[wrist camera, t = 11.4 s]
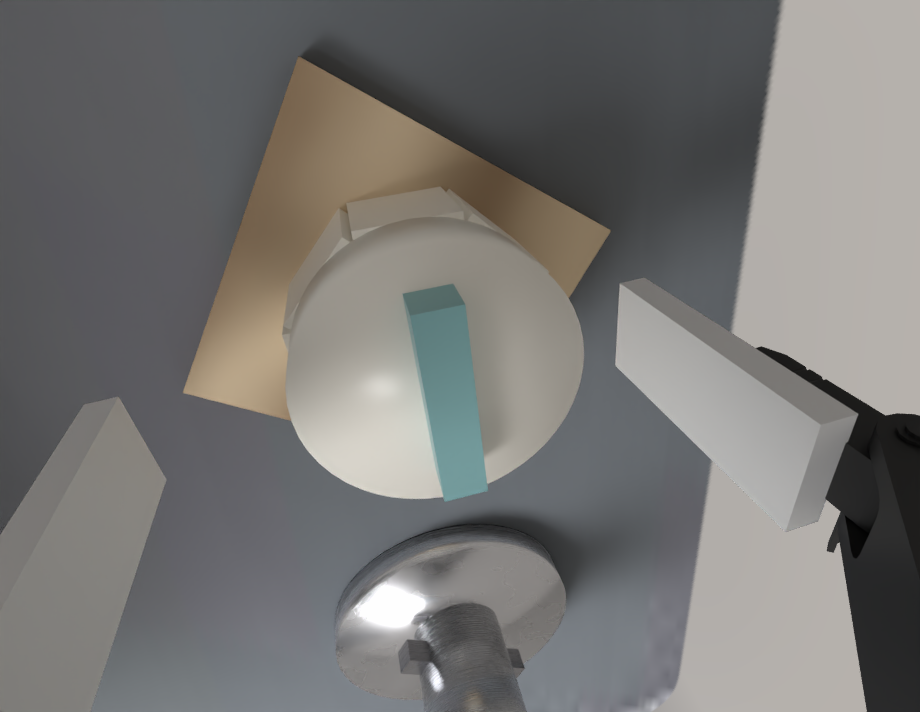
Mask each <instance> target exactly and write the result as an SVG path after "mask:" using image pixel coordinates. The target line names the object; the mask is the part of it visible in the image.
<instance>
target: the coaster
mask: <svg viewBox="0 0 920 712" xmlns="http://www.w3.org/2000/svg"><path fill="white" fill-rule="evenodd" d="M435 187H441V188H442V189H443V190H444V191H445V192H447V190H448V189H450V190H451V191H453V192H454V193H455V194H456V195H458V196H459V197H460V198H462V199H463V200H464V201H466V202H467V203H468V204H469V205H471V206H472V207H473V208H475V209H476V210H477V211H478V212H480V213H481V214H482V215H484V216H485V217H486V218H488V219H489V220H490V221H491V222H493V223H494V224H495V225H497V226H498V227H499V228H500V229H502V230H503V231H504V232H506V233H507V234H508V235H510V236H511V237H512V238H513V239H515V240H516V241H517V242H518V243H519V244H520V245H521V246H522V247H524V248H525V249H526V250H527V251H528V252H529V253H530V254H531V255H532V256H533V257H534V258H535V259H536V260H537V261H539V262H540V263H541V264H542V265H543V266H544V267H545V268H546V269H547V270H548V271H549V273H548V274H549V275H550V276H551V277H552V278H553V279H554V280H555V281H556V282H557V283H558V285H559V286H560V287H561V288H562V290H563V291H564V292H565V293H566V295H567V297H568V298H569V297H570V296H571V294H572V292H573V291H574V289H575V288H576V286H577V284H578V283H579V281H580V280H581V278H582V276H583V275H584V273H585V272H586V270H587V268H588V267H589V265H590V264H591V262H592V260H593V259H594V257H595V256H596V254H597V253H598V251H599V249H600V248H601V246H602V245H603V243H604V241H605V240H606V238H607V237H608V235H609V233H610V232H611V230H609V229H607V228H606V227H604V226H602V225H601V224H599V223H597V222H595V221H594V220H592V219H590V218H588V217H586V216H585V215H583V214H581V213H579V212H577V211H576V210H574V209H572V208H570V207H568V206H567V205H565V204H563V203H561V202H559V201H558V200H556V199H554V198H552V197H550V196H549V195H547V194H545V193H543V192H542V191H540V190H538V189H536V188H534V187H533V186H531V185H529V184H527V183H525V182H524V181H522V180H520V179H518V178H516V177H515V176H513V175H511V174H509V173H507V172H506V171H504V170H502V169H500V168H498V167H497V166H495V165H493V164H491V163H489V162H488V161H486V160H484V159H482V158H481V157H479V156H477V155H475V154H473V153H472V152H470V151H468V150H466V149H464V148H463V147H461V146H459V145H457V144H455V143H454V142H452V141H450V140H448V139H446V138H445V137H443V136H441V135H439V134H437V133H436V132H434V131H432V130H430V129H429V128H427V127H425V126H423V125H421V124H420V123H418V122H416V121H414V120H412V119H411V118H409V117H407V116H405V115H403V114H402V113H400V112H398V111H396V110H394V109H393V108H391V107H389V106H387V105H385V104H384V103H382V102H380V101H378V100H376V99H375V98H373V97H371V96H369V95H368V94H366V93H364V92H362V91H360V90H359V89H357V88H355V87H353V86H351V85H350V84H348V83H346V82H344V81H342V80H341V79H339V78H337V77H335V76H333V75H332V74H330V73H328V72H326V71H324V70H323V69H321V68H319V67H317V66H316V65H314V64H312V63H310V62H308V61H307V60H305V59H303V58H301V57H299V56H298V59H297V62H296V64H295V67H294V70H293V73H292V76H291V79H290V82H289V85H288V88H287V91H286V94H285V96H284V99H283V102H282V105H281V108H280V111H279V114H278V117H277V120H276V123H275V126H274V128H273V131H272V134H271V137H270V140H269V143H268V146H267V149H266V152H265V155H264V158H263V161H262V163H261V166H260V169H259V172H258V175H257V178H256V181H255V184H254V187H253V190H252V193H251V195H250V198H249V201H248V204H247V207H246V210H245V213H244V216H243V219H242V222H241V225H240V227H239V230H238V233H237V236H236V239H235V242H234V245H233V248H232V251H231V254H230V257H229V259H228V262H227V265H226V268H225V271H224V274H223V277H222V280H221V283H220V286H219V289H218V291H217V294H216V297H215V300H214V303H213V306H212V309H211V312H210V315H209V318H208V321H207V323H206V326H205V329H204V332H203V335H202V338H201V341H200V344H199V347H198V350H197V353H196V355H195V358H194V361H193V364H192V367H191V370H190V373H189V376H188V379H187V382H186V385H185V387H184V390H183V393H186V394H189V395H193V396H197V397H201V398H205V399H209V400H213V401H217V402H220V403H224V404H228V405H232V406H236V407H240V408H244V409H248V410H251V411H255V412H259V413H263V414H267V415H271V416H275V417H278V418H282V419H286V420H290V421H291V418H290V414H289V410H288V407H287V399H286V390H285V385H286V369H287V360H288V351H287V349H286V346H285V343H284V340H283V337H282V330H283V323H284V316H285V309H286V302H287V295H288V288H289V284H290V282H291V280H292V279H293V277H294V276H295V274H296V273H297V271H298V270H299V268H300V267H301V265H302V264H303V262H304V260H305V259H306V257H307V256H308V254H309V253H310V251H311V250H312V248H313V247H314V245H315V244H316V242H317V240H318V239H319V237H320V236H321V234H322V233H323V231H324V230H325V228H326V227H327V225H328V224H329V222H330V220H331V219H332V217H333V216H334V214H335V213H336V211H337V210H338V208H340V209H341V210H343V211H344V212H346V213H347V214H348V211H347V205H346V203H349V202H354V201H360V200H366V199H372V198H377V197H383V196H389V195H395V194H400V193H406V192H412V191H418V190H423V189H429V188H435Z"/></svg>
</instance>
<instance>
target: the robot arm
mask: <svg viewBox="0 0 920 712" xmlns="http://www.w3.org/2000/svg"><path fill="white" fill-rule="evenodd" d="M615 366H616V367H617V368H618V369H619V370H620V371H621V372H622V373H623V374H624V375H625V376H627V377H628V378H629V379H630V380H631V381H632V382H633V383H634V384H635V385H636V386H637V387H638V388H639V389H640V390H641V391H642V392H643V393H644V394H645V395H646V396H647V397H648V398H649V399H650V400H651V401H652V402H653V403H654V404H655V405H656V406H657V407H658V408H659V409H660V410H661V411H662V412H663V413H664V414H665V415H666V416H667V417H668V418H669V419H670V420H671V421H672V422H673V423H674V424H675V425H677V426H678V427H679V428H680V429H681V430H682V431H683V432H684V433H685V434H686V435H687V436H688V437H689V438H690V439H691V440H692V441H693V442H694V443H695V444H696V445H697V446H698V447H699V448H700V449H701V450H702V451H703V452H704V453H705V454H706V455H707V456H708V457H709V458H710V459H711V460H712V461H713V462H714V463H715V464H717V466H718V467H719V468H720V469H722V471H723V472H724V473H726V474H727V475H728V476H729V477H730V478H731V479H732V480H733V481H734V482H735V483H736V484H737V485H738V486H739V487H740V488H741V489H742V490H743V491H744V492H745V493H746V494H747V495H748V496H749V497H750V498H751V499H752V500H753V501H754V502H755V503H756V504H757V505H758V506H759V507H760V508H761V509H762V510H763V511H764V512H765V513H766V514H767V515H768V516H769V517H770V518H771V519H772V520H773V521H774V522H776V523H777V524H778V525H779V526H780V527H781V528H782V529H783V530H784V531H785V532H788V531H791V530H794V529H797V528H800V527H803V526H805V525H809V524H812V523H815V522H818V520H819V517H820V515H821V512H822V510H823V507H824V504H825V502H826V500H828V501H829V502H830V503H831V504H832V505H834V506H835V507H836V508H837V509H838V510H840V511H841V512H840V515H839V517H838V520H837V522H836V525H835V527H834V530H833V532H832V535H831V537H830V540H829V542H828V547H827V551H829V552H834V550H835V548H836V545H837V543H839V542H840V547H841V553H842V560H843V566H844V572H845V578H846V584H847V591H848V597H849V603H850V609H851V615H852V621H853V627H854V634H855V640H856V646H857V653H858V659H859V665H860V671H861V677H862V684H863V690H864V696H865V702H866V708H867V712H920V416H918V415H914V414H892V415H887V416H885V415H884V414H882V413H880V412H879V411H877V410H875V409H873V408H872V407H870V406H869V405H867V404H866V403H864V402H862V401H861V400H859V399H857V398H856V397H854V396H852V395H851V394H849V393H848V392H846V391H844V390H843V389H841V388H839V387H837V386H836V385H834V384H833V383H831V382H829V381H828V380H823V379H822V377H821V376H820V375H818V374H816V373H815V372H813V371H811V370H807V369H806V367H805V366H803V365H802V364H800V363H798V362H797V361H795V360H794V359H792V358H790V357H788V356H787V355H785V354H782V353H779V352H776V351H773V350H770V349H767V348H764V347H758V348H754V347H753V346H751V345H749V344H748V343H746V342H745V341H743V340H742V339H740V338H738V337H737V336H735V335H734V334H732V333H731V332H729V331H727V330H726V329H724V328H723V327H721V326H720V325H718V324H717V323H715V322H713V321H712V320H710V319H709V318H707V317H706V316H704V315H702V314H701V313H699V312H698V311H696V310H695V309H693V308H691V307H690V306H688V305H687V304H685V303H684V302H682V301H680V300H679V299H677V298H676V297H674V296H673V295H671V294H669V293H668V292H666V291H665V290H663V289H662V288H660V287H658V286H657V285H655V284H654V283H652V282H651V281H649V280H648V279H646V278H640V279H636V280H632V281H627V282H623V283H620V289H619V307H618V325H617V343H616V361H615ZM165 483H166V478H165V476H164V474H163V473H162V471H161V469H160V468H159V466H158V464H157V462H156V461H155V459H154V457H153V455H152V454H151V452H150V450H149V449H148V447H147V445H146V443H145V442H144V440H143V438H142V436H141V435H140V433H139V431H138V429H137V428H136V426H135V424H134V423H133V421H132V419H131V417H130V416H129V414H128V412H127V410H126V409H125V407H124V405H123V404H122V402H121V400H120V398H119V397H115V398H110V399H106V400H101V401H97V402H92V403H88V404H84V405H83V407H82V408H81V410H80V411H79V413H78V414H77V416H76V417H75V419H74V421H73V422H72V424H71V425H70V427H69V428H68V430H67V432H66V433H65V435H64V436H63V438H62V439H61V441H60V442H59V444H58V446H57V447H56V449H55V450H54V452H53V453H52V455H51V457H50V458H49V460H48V461H47V463H46V464H45V466H44V467H43V469H42V471H41V472H40V474H39V475H38V477H37V478H36V480H35V482H34V483H33V485H32V486H31V488H30V489H29V491H28V492H27V494H26V496H25V497H24V499H23V500H22V502H21V503H20V505H19V507H18V508H17V510H16V511H15V513H14V514H13V516H12V517H11V519H10V521H9V522H8V524H7V525H6V527H5V528H4V530H3V532H2V533H1V535H0V712H90V711H91V708H92V705H93V702H94V699H95V696H96V693H97V690H98V687H99V684H100V681H101V678H102V675H103V672H104V669H105V666H106V663H107V660H108V657H109V654H110V650H111V647H112V644H113V641H114V638H115V635H116V632H117V629H118V626H119V623H120V620H121V617H122V614H123V611H124V608H125V605H126V602H127V599H128V596H129V593H130V589H131V586H132V583H133V580H134V577H135V574H136V571H137V568H138V565H139V562H140V559H141V556H142V553H143V550H144V547H145V544H146V541H147V538H148V535H149V532H150V528H151V525H152V522H153V519H154V516H155V513H156V510H157V507H158V504H159V501H160V498H161V495H162V492H163V489H164V486H165Z"/></svg>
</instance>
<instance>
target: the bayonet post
mask: <svg viewBox="0 0 920 712" xmlns="http://www.w3.org/2000/svg"><path fill="white" fill-rule="evenodd" d="M565 607H566V592H565V587H564V585H563V582H562V580H561V578H560V576H559V574H558V571H557V569H556V567H555V565H554V563H553V561H552V558H551V556H550V554H549V553H548V552H547V550H546V549H545V547H543V546H542V545H541V544H540V543H539V542H538V541H537V540H535V539H534V538H532V537H530V536H529V535H527V534H525V533H522V532H520V531H518V530H514V529H510V528H507V527H501V526H494V525H462V526H455V527H449V528H444V529H440V530H436V531H432V532H428V533H425V534H423V535H420V536H417V537H414V538H412V539H409V540H407V541H405V542H403V543H401V544H398V545H397V546H395V547H393V548H391V549H390V550H388V551H386V552H384V553H383V554H381V555H380V556H379V557H377V558H376V559H374V560H373V561H371V562H370V563H369V564H368V565H367V566H366V567H365V568H363V569H362V570H361V571H360V572H359V573H358V574H357V575H356V577H355V578H354V579H353V580H352V581H351V582H350V584H349V585H348V587H347V588H346V590H345V591H344V593H343V595H342V597H341V599H340V601H339V604H338V607H337V611H336V618H335V637H336V656H337V662H338V664H339V667H340V669H341V671H342V672H343V673H344V675H345V676H346V677H347V678H348V679H349V680H350V681H351V682H352V683H353V684H354V685H356V686H358V687H359V688H361V689H363V690H365V691H367V692H369V693H372V694H375V695H378V696H382V697H387V698H392V699H403V700H422V699H423V703H424V709H425V712H527V711H526V708H525V705H524V701H523V698H522V695H521V692H520V689H519V686H518V682H517V679H516V678H517V677H518V676H519V675H520V674H521V672H522V671H523V670H524V669H525V668H524V665H523V664H524V663H525V662H526V661H528V660H529V659H530V658H532V657H533V656H534V655H535V654H536V653H537V652H538V651H539V650H541V649H542V647H543V646H544V645H545V644H546V643H547V642H548V641H549V640H550V638H551V637H552V636H553V634H554V633H555V632H556V630H557V628H558V626H559V625H560V623H561V620H562V618H563V615H564V612H565Z"/></svg>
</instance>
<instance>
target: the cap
mask: <svg viewBox="0 0 920 712" xmlns="http://www.w3.org/2000/svg"><path fill="white" fill-rule="evenodd" d="M346 205H347V211H348V214H347V213H346V212H344V211H343V210H341V209H340V208H338V210H337V211H336V213H335V214H334V216H333V217H332V219H331V220H330V222H329V224H328V225H327V227H326V228H325V230H324V231H323V233H322V234H321V236H320V237H319V239H318V240H317V242H316V244H315V245H314V247H313V248H312V250H311V251H310V253H309V254H308V256H307V257H306V259H305V260H304V262H303V264H302V265H301V267H300V268H299V270H298V271H297V273H296V274H295V276H294V277H293V279H292V280H291V282H290V284H289V288H288V295H287V302H286V309H285V316H284V323H283V330H282V337H283V340H284V343H285V346H286V349H287V351H288V360H287V369H286V385H285V390H286V399H287V407H288V410H289V414H290V418H291V421H292V424H293V426H294V428H295V430H296V433H297V435H298V437H299V439H300V440H301V442H302V443H303V445H304V446H305V447H306V449H307V450H308V452H309V453H310V454H311V455H312V456H313V457H314V458H315V459H316V461H317V462H318V463H319V464H320V465H322V466H323V467H324V468H325V469H327V470H328V471H329V472H330V473H332V474H333V475H335V476H336V477H338V478H340V479H341V480H343V481H344V482H346V483H348V484H351V485H353V486H355V487H357V488H359V489H362V490H365V491H368V492H371V493H375V494H378V495H383V496H388V497H394V498H405V499H429V498H438V497H443V498H444V501H445V502H447V501H450V500H454V499H458V498H462V497H466V496H469V495H473V494H477V493H481V492H485V491H488V487H487V484H488V483H491V482H493V481H495V480H497V479H499V478H501V477H503V476H504V475H506V474H508V473H510V472H511V471H513V470H514V469H516V468H517V467H519V466H520V465H522V464H523V463H524V462H526V461H527V460H528V459H529V458H531V457H532V456H533V455H534V454H535V453H536V452H537V451H539V450H540V449H541V448H542V447H543V446H544V445H545V444H546V443H547V442H548V440H549V439H550V438H551V437H552V435H553V434H554V433H555V432H556V431H557V429H558V428H559V426H560V425H561V423H562V422H563V420H564V419H565V417H566V416H567V414H568V412H569V410H570V408H571V406H572V404H573V402H574V399H575V397H576V394H577V391H578V388H579V385H580V381H581V376H582V372H583V362H584V345H583V336H582V331H581V327H580V322H579V320H578V317H577V315H576V312H575V309H574V307H573V305H572V304H571V302H570V300H569V298H568V297H567V295H566V293H565V292H564V291H563V290H562V288H561V287H560V286H559V285H558V283H557V282H556V281H555V280H554V279H553V278H552V277H551V276H550V275H549V274H548V273H549V271H548V270H547V269H546V268H545V267H544V266H543V265H542V264H541V263H540V262H539V261H537V260H536V259H535V258H534V257H533V256H532V255H531V254H530V253H529V252H528V251H527V250H526V249H525V248H524V247H522V246H521V245H520V244H519V243H518V242H517V241H516V240H515V239H513V238H512V237H511V236H510V235H508V234H507V233H506V232H504V231H503V230H502V229H500V228H499V227H498V226H497V225H495V224H494V223H493V222H491V221H490V220H489V219H488V218H486V217H485V216H484V215H482V214H481V213H480V212H478V211H477V210H476V209H475V208H473V207H472V206H471V205H469V204H468V203H467V202H466V201H464V200H463V199H462V198H460V197H459V196H458V195H456V194H455V193H454V192H453V191H451V190H450V189H448V190H447V192H445V191H444V190H443V189H442V188H441V187H435V188H429V189H423V190H418V191H412V192H406V193H400V194H395V195H389V196H383V197H377V198H372V199H366V200H360V201H354V202H349V203H346Z"/></svg>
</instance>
